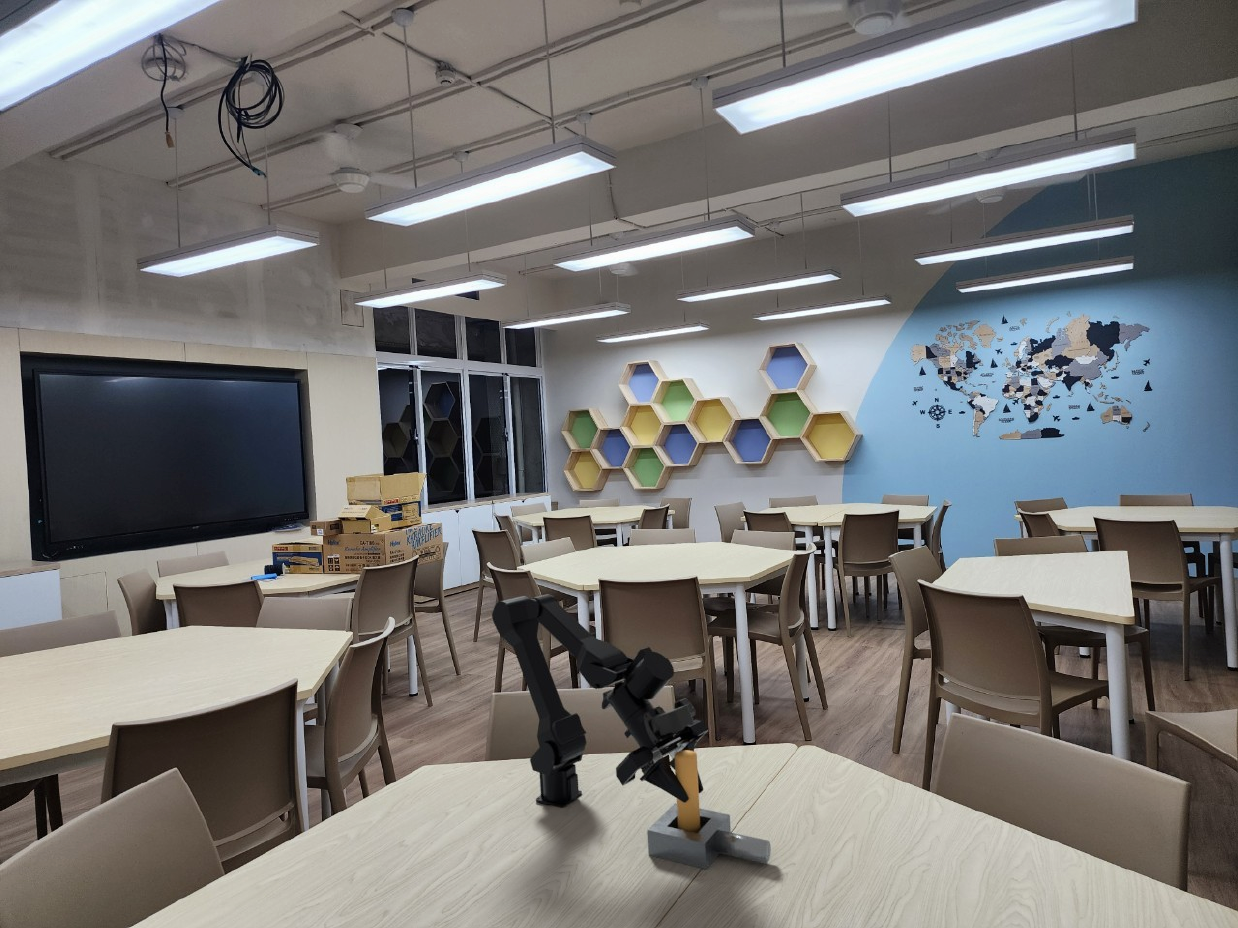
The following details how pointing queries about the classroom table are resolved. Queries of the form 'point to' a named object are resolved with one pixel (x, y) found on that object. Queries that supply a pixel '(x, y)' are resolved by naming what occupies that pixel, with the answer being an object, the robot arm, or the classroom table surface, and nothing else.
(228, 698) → the classroom table surface
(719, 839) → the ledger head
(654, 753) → the robot arm
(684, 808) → the orange cylinder
